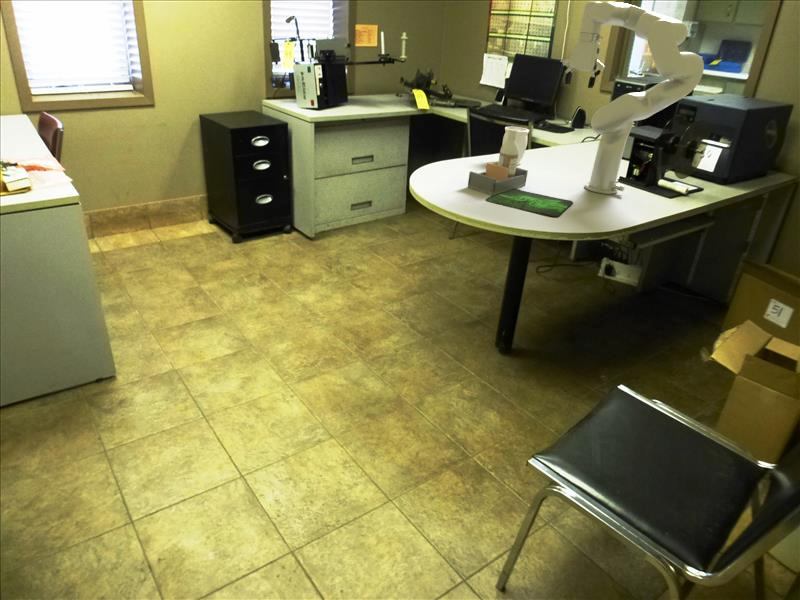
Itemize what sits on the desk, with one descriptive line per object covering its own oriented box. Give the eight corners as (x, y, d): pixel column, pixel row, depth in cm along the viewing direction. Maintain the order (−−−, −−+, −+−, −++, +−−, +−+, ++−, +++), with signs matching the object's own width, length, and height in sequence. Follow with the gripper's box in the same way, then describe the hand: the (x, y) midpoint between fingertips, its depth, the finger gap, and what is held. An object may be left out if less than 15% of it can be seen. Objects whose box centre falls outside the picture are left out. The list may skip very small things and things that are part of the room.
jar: (516, 159, 260) (522, 126, 253) (527, 166, 251) (533, 131, 244) (495, 160, 257) (500, 125, 249) (506, 166, 248) (512, 131, 241)
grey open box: (525, 185, 224) (527, 170, 221) (492, 195, 209) (494, 179, 206) (500, 178, 231) (503, 163, 228) (467, 187, 216) (469, 171, 213)
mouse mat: (482, 201, 203) (482, 199, 203) (504, 187, 220) (504, 185, 220) (557, 219, 192) (557, 216, 192) (574, 203, 209) (574, 201, 209)
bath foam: (503, 185, 218) (512, 132, 209) (491, 180, 223) (499, 128, 214) (517, 183, 222) (526, 131, 212) (504, 178, 227) (513, 127, 217)
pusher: (505, 186, 216) (508, 168, 213) (497, 188, 213) (500, 170, 209) (486, 180, 221) (488, 162, 218) (478, 182, 218) (480, 164, 215)
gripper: (614, 40, 214) (603, 88, 222) (572, 36, 223) (563, 82, 231) (606, 40, 208) (595, 89, 217) (563, 35, 218) (554, 83, 226)
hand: (578, 85), depth 224 cm, fingers open, 9 cm apart
